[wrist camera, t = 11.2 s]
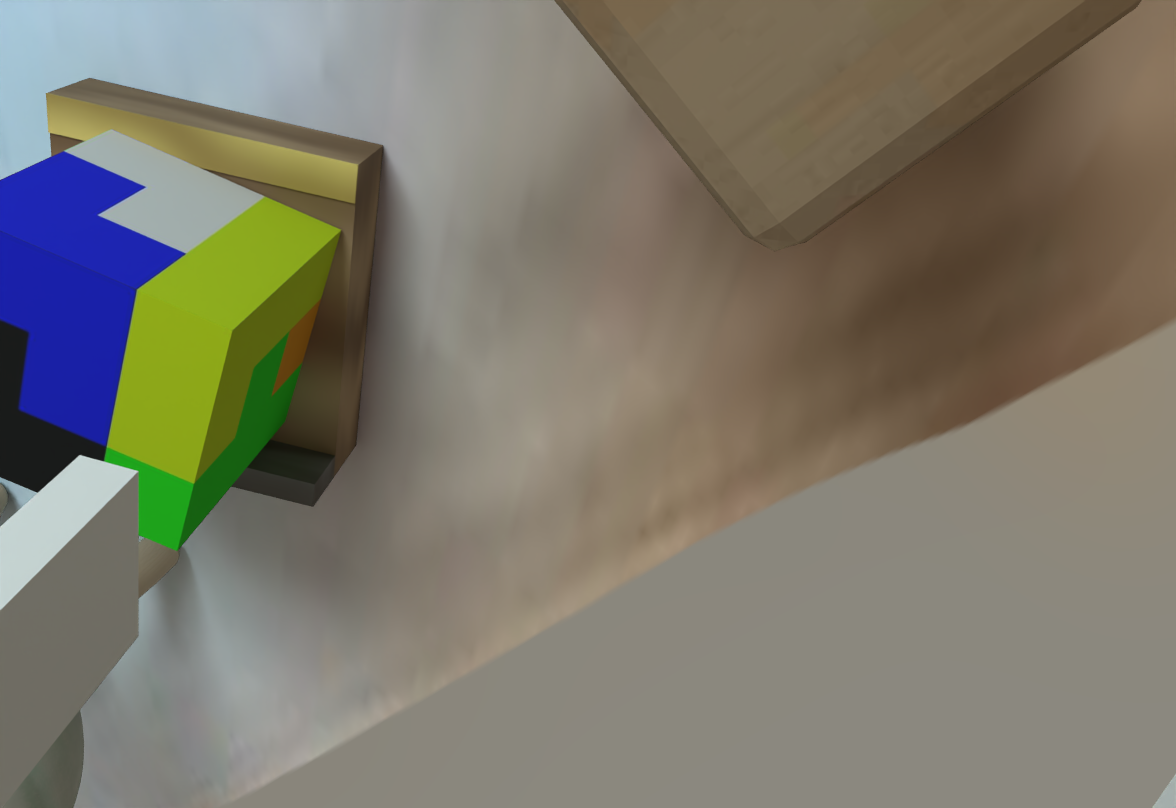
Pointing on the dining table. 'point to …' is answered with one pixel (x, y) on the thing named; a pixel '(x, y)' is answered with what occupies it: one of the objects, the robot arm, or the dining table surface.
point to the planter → (57, 775)
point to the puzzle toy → (149, 323)
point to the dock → (298, 180)
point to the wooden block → (824, 88)
